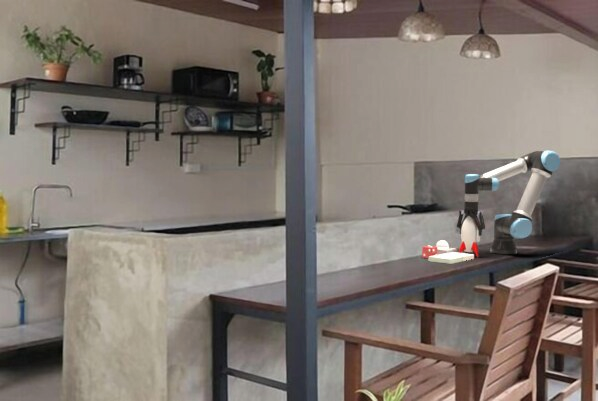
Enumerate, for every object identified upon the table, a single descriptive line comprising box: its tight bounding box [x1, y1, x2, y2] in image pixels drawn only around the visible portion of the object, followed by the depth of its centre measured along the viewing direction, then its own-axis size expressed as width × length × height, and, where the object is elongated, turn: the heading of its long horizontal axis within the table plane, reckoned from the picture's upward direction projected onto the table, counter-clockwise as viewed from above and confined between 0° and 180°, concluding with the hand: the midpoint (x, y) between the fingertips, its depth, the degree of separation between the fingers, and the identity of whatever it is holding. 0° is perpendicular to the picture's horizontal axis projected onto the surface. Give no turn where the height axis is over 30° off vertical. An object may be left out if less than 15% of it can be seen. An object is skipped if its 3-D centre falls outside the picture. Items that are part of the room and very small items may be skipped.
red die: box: [421, 245, 437, 259], centre depth 356 cm, size 7×7×7 cm
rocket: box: [458, 216, 479, 259], centre depth 365 cm, size 11×11×25 cm
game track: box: [428, 252, 475, 265], centre depth 348 cm, size 27×13×2 cm, turn 138°
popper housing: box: [437, 247, 458, 255], centre depth 367 cm, size 12×12×4 cm
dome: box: [435, 239, 450, 250], centre depth 367 cm, size 7×7×8 cm
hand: (470, 240), depth 364 cm, fingers open, 9 cm apart
